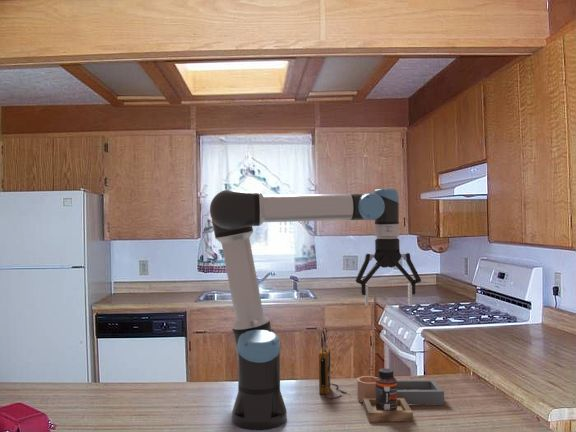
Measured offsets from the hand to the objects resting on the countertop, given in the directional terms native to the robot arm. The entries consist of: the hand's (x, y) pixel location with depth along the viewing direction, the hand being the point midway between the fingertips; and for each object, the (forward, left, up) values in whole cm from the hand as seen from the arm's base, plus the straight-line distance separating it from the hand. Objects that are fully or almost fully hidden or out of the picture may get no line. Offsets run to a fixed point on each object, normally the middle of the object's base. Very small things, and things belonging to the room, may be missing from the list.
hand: (388, 305), depth 161 cm
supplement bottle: (-4, -16, -27) cm, 32 cm away
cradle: (+6, -4, -28) cm, 29 cm away
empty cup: (-7, -5, -28) cm, 29 cm away
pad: (+6, -4, -27) cm, 28 cm away
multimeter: (-17, +2, -28) cm, 33 cm away
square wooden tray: (-4, -16, -28) cm, 32 cm away
